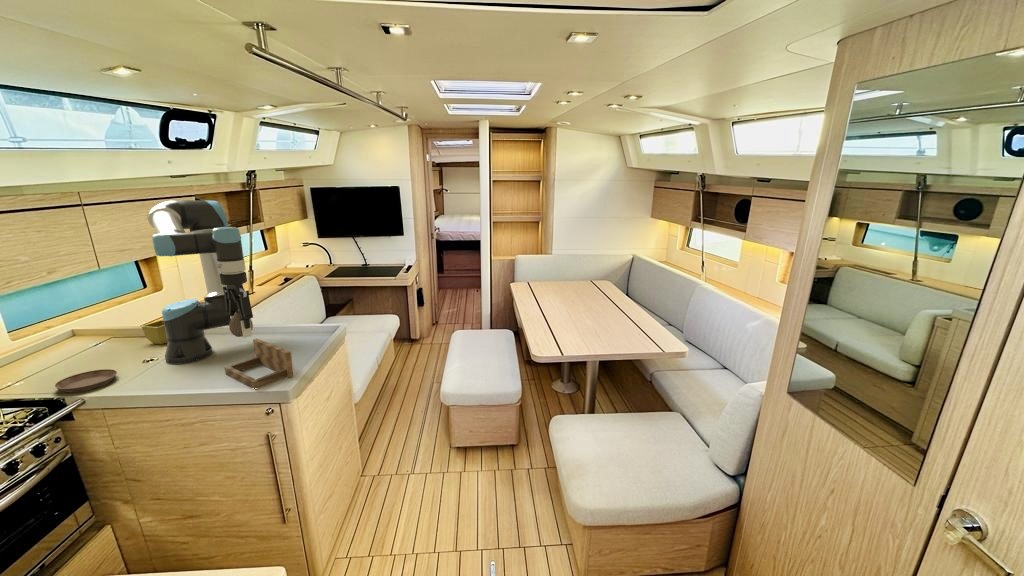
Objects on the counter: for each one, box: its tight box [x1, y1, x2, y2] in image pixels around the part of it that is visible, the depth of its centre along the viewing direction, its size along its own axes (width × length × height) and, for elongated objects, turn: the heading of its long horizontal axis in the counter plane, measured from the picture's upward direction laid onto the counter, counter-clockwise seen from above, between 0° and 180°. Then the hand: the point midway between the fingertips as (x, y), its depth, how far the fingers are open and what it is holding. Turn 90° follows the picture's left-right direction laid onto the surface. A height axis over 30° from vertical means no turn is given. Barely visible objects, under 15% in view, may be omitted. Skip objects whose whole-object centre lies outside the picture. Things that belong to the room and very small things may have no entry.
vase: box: [228, 311, 254, 338], centre depth 136 cm, size 7×7×9 cm
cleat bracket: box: [224, 338, 294, 390], centre depth 143 cm, size 24×13×10 cm, turn 59°
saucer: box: [54, 368, 118, 393], centre depth 134 cm, size 15×15×3 cm
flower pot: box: [140, 319, 168, 345], centre depth 171 cm, size 9×9×9 cm
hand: (242, 334), depth 137 cm, fingers closed on vase, 7 cm apart
